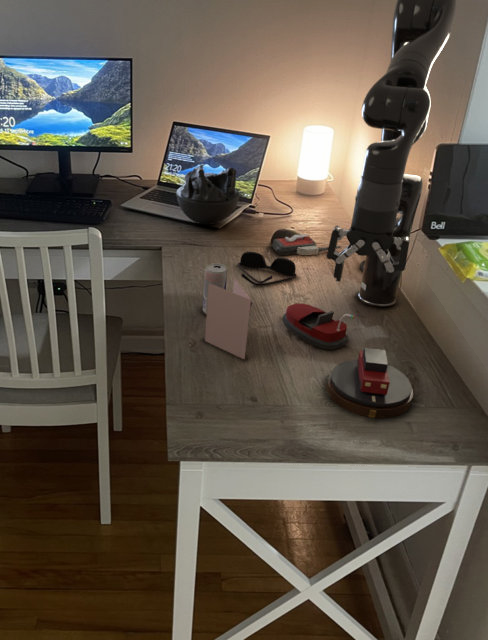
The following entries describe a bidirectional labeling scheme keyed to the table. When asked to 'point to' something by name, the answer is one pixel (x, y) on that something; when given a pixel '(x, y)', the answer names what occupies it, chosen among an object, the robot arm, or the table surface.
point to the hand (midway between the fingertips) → (361, 283)
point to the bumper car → (316, 326)
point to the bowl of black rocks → (208, 195)
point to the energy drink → (214, 280)
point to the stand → (366, 409)
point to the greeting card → (228, 318)
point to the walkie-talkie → (297, 245)
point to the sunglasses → (266, 267)
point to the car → (371, 380)
